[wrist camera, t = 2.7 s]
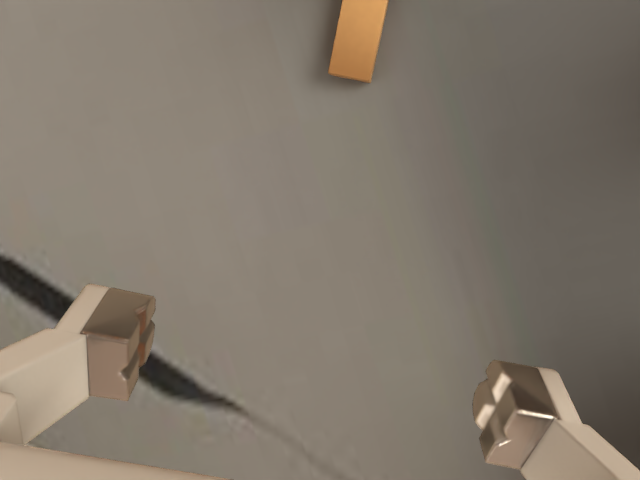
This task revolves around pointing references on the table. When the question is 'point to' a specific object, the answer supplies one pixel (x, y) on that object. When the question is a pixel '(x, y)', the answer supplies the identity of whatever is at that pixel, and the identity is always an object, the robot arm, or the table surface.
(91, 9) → the table surface
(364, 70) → the wooden spoon
